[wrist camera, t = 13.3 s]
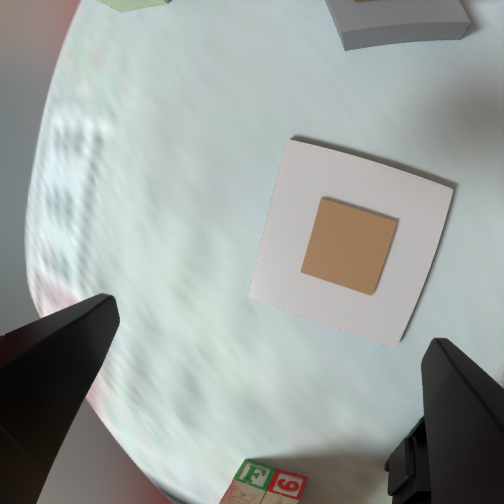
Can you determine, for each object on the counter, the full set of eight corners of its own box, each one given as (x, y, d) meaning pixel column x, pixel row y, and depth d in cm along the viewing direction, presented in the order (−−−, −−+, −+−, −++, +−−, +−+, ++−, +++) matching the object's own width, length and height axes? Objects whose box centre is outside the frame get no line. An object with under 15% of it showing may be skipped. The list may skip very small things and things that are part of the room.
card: (450, 189, 15) (455, 189, 14) (395, 343, 18) (396, 350, 17) (288, 140, 17) (284, 137, 17) (250, 294, 20) (245, 299, 19)
